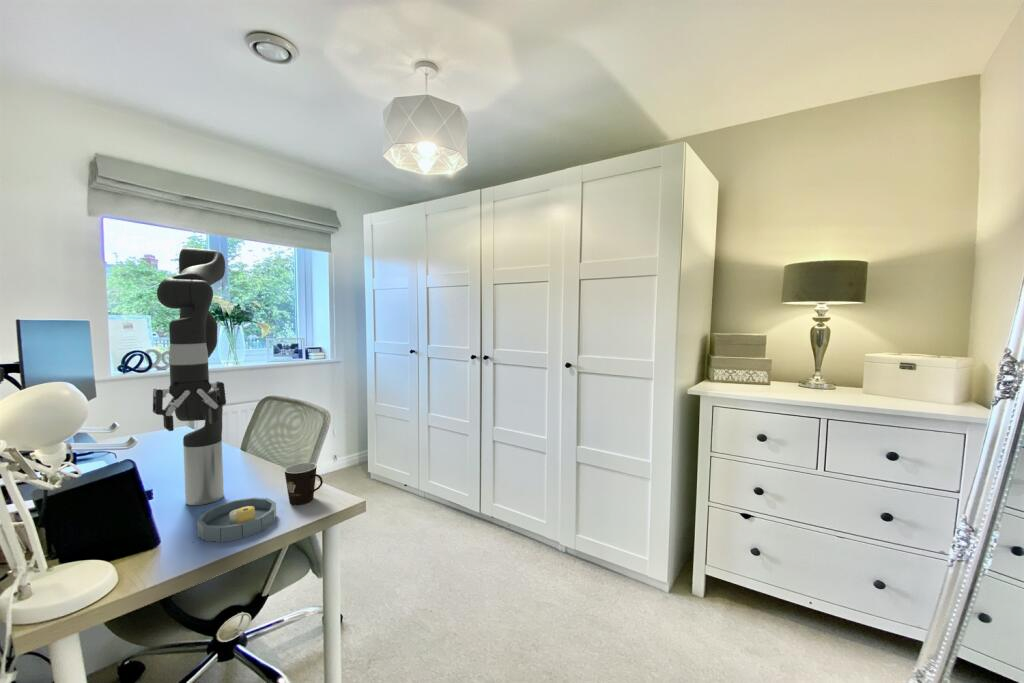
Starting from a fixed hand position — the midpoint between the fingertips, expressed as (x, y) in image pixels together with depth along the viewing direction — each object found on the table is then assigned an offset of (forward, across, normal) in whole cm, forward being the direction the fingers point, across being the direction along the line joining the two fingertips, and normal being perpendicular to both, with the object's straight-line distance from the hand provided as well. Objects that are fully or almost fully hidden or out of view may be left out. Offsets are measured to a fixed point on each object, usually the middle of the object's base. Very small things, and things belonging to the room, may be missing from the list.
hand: (192, 426), depth 103 cm
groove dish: (+28, +8, -3) cm, 29 cm away
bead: (+26, +8, -8) cm, 29 cm away
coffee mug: (+28, +25, -3) cm, 38 cm away
